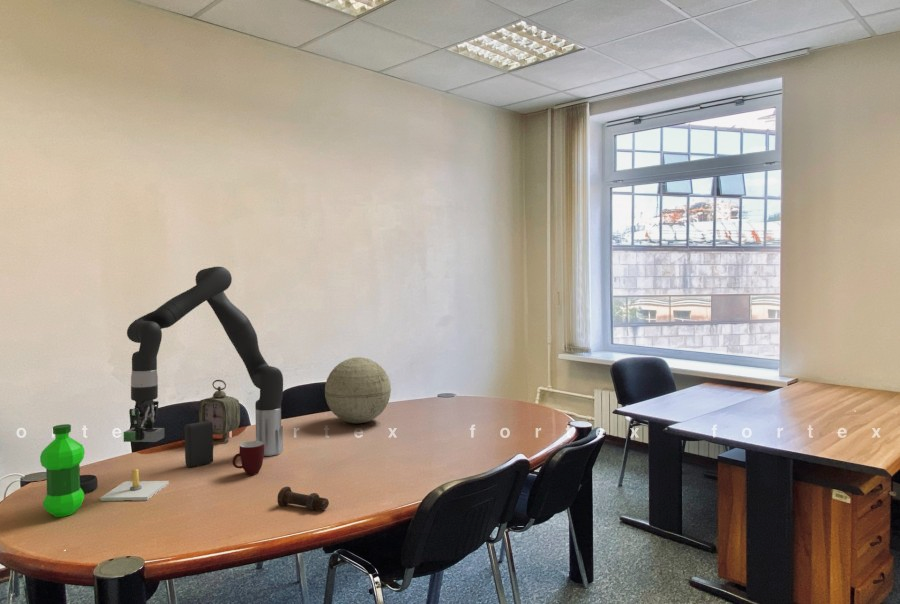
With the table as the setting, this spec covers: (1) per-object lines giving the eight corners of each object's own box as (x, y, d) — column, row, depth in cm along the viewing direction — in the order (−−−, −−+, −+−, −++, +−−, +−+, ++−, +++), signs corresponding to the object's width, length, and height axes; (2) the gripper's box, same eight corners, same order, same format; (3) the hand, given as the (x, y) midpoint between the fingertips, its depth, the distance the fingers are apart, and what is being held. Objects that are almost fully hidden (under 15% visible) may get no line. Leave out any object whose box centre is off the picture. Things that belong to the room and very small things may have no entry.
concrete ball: (358, 412, 292) (357, 351, 290) (404, 420, 274) (404, 356, 273) (311, 424, 267) (310, 358, 266) (358, 434, 250) (357, 364, 249)
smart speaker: (73, 498, 179) (72, 485, 179) (58, 492, 184) (58, 480, 183) (103, 489, 186) (103, 477, 186) (88, 484, 191) (88, 472, 191)
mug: (239, 480, 194) (238, 450, 193) (228, 474, 199) (228, 445, 199) (269, 473, 201) (268, 444, 200) (258, 467, 207) (257, 439, 206)
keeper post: (168, 483, 191) (168, 462, 190) (147, 500, 177) (147, 477, 176) (125, 484, 190) (124, 463, 190) (100, 500, 176) (99, 477, 176)
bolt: (324, 518, 168) (280, 509, 173) (333, 504, 172) (289, 496, 177) (319, 504, 165) (274, 496, 170) (328, 490, 169) (284, 482, 174)
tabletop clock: (199, 440, 241) (197, 380, 240) (215, 435, 249) (214, 376, 248) (226, 444, 236) (225, 382, 235) (242, 438, 244) (241, 379, 243)
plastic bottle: (39, 523, 160) (36, 432, 159) (47, 509, 170) (45, 423, 169) (81, 517, 164) (79, 428, 163) (88, 503, 174) (85, 420, 173)
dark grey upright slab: (210, 460, 215) (209, 419, 215) (214, 462, 212) (213, 421, 212) (184, 466, 209) (183, 424, 208) (188, 468, 206) (187, 426, 205)
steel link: (164, 437, 188) (164, 428, 188) (156, 441, 183) (156, 432, 183) (132, 437, 188) (132, 427, 188) (123, 441, 183) (123, 432, 183)
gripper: (145, 388, 178) (145, 443, 178) (167, 380, 192) (166, 432, 193) (120, 388, 178) (120, 443, 178) (143, 380, 192) (143, 431, 193)
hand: (144, 437), depth 186 cm, fingers closed on steel link, 5 cm apart
